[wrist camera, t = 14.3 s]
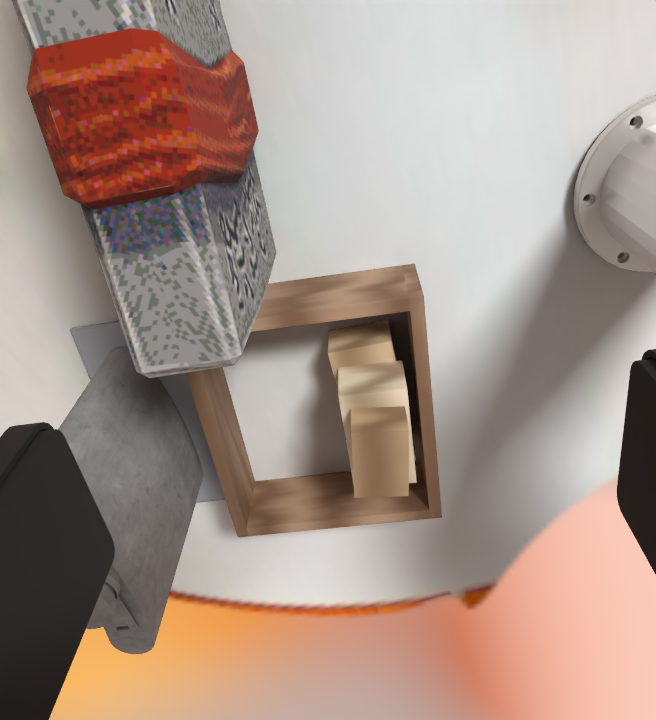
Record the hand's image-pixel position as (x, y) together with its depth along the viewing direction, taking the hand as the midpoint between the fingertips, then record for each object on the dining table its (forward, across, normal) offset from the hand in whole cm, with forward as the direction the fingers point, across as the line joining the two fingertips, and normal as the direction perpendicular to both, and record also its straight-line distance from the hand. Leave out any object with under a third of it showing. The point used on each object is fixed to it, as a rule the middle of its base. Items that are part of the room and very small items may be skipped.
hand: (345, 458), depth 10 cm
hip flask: (+36, +20, +23) cm, 47 cm away
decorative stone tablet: (+36, +9, -6) cm, 38 cm away
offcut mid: (+33, 0, +22) cm, 40 cm away
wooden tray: (+36, +5, +22) cm, 43 cm away
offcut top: (+29, 0, +22) cm, 36 cm away
